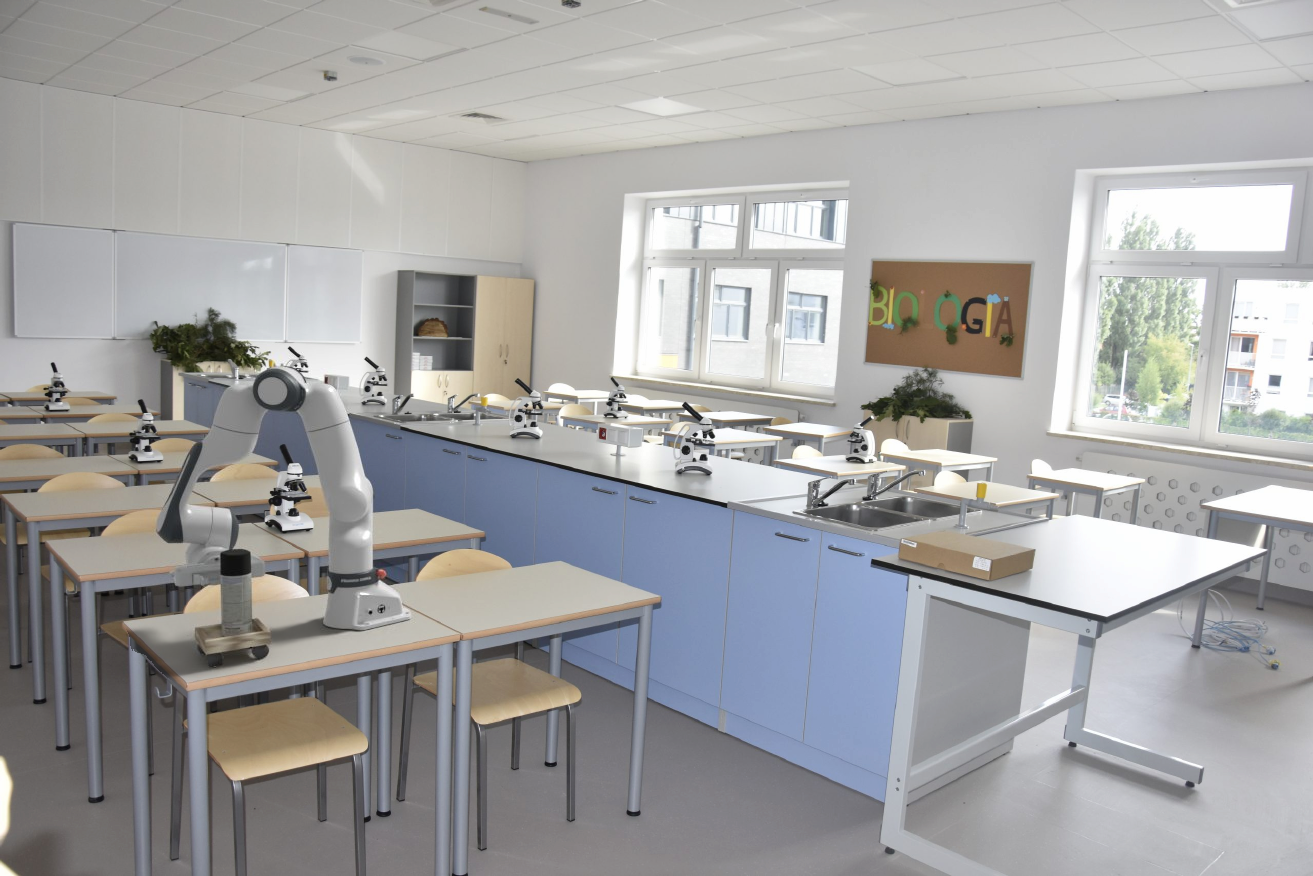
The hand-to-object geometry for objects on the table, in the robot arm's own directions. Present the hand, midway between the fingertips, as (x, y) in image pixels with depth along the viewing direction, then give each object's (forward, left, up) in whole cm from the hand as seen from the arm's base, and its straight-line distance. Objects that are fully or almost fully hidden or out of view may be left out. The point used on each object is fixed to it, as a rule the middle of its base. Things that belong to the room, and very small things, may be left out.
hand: (227, 579), depth 225 cm
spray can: (-1, +4, -13) cm, 13 cm away
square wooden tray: (0, +4, -18) cm, 18 cm away
